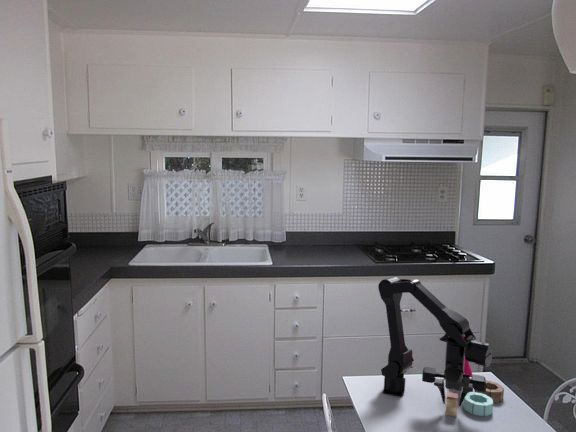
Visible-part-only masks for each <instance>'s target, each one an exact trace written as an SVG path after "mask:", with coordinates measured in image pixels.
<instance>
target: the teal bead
mask: <svg viewBox="0 0 576 432" xmlns="http://www.w3.org/2000/svg"><path fill="white" fill-rule="evenodd" d="M462 405H463V409H464V411H466V412H468V413H469V414H471V415H474V416H478V417H479V416H480V417H488V416H492V415H493V413H494V412H493V409H494V402H493V399H492V398H490V397H489V396H487V395H485V394H483V393H477V392H475V391H473V392H468V393H467V395H466V396H465V398H464V400H463V402H462Z"/></svg>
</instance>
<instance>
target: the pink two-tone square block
mask: <svg viewBox="0 0 576 432" xmlns="http://www.w3.org/2000/svg"><path fill="white" fill-rule="evenodd" d="M445 404H446V406H445V408H446V409H445V416H452V417H458V416H457V415H458V406H459V394H458V393H455V392H450V391H446V402H445Z"/></svg>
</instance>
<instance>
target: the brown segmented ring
mask: <svg viewBox="0 0 576 432" xmlns="http://www.w3.org/2000/svg"><path fill="white" fill-rule="evenodd" d="M474 392H477V393H483V394H485V395H487V396H489V397H490V398H492V399H493V403H499V402H502V401H503V400H504V392H505V388H504V387H503V386H502V385H501V384H500V383H498V382H495V381H492V380H488V379H486V391H485V392H482V391H476V390H474Z"/></svg>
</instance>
